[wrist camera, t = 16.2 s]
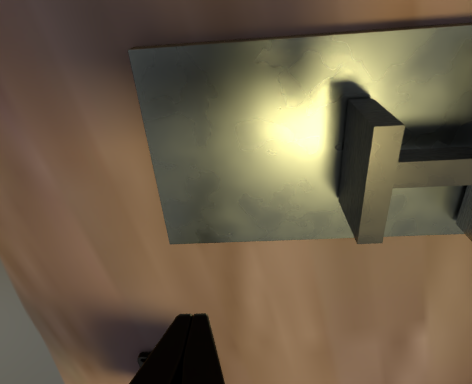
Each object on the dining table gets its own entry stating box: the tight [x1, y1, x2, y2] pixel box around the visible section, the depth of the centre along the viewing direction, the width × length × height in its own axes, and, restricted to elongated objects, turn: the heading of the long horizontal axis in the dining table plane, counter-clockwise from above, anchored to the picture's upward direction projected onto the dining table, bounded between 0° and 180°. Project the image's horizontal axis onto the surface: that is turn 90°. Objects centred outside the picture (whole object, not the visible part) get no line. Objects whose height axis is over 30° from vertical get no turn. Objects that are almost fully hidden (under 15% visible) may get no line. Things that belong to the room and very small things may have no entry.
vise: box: [128, 23, 472, 244], centre depth 17 cm, size 27×12×5 cm, turn 94°
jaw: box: [338, 98, 472, 244], centre depth 16 cm, size 9×10×4 cm
